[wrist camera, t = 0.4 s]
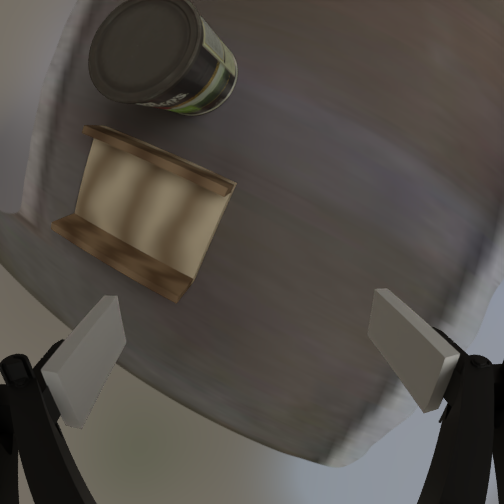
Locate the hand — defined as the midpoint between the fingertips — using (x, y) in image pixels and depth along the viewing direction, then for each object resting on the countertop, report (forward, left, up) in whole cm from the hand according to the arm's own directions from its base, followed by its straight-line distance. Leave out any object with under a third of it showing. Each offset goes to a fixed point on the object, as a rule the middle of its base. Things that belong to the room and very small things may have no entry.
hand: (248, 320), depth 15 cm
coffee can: (+2, -20, -23) cm, 30 cm away
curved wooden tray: (+15, -9, -22) cm, 28 cm away
